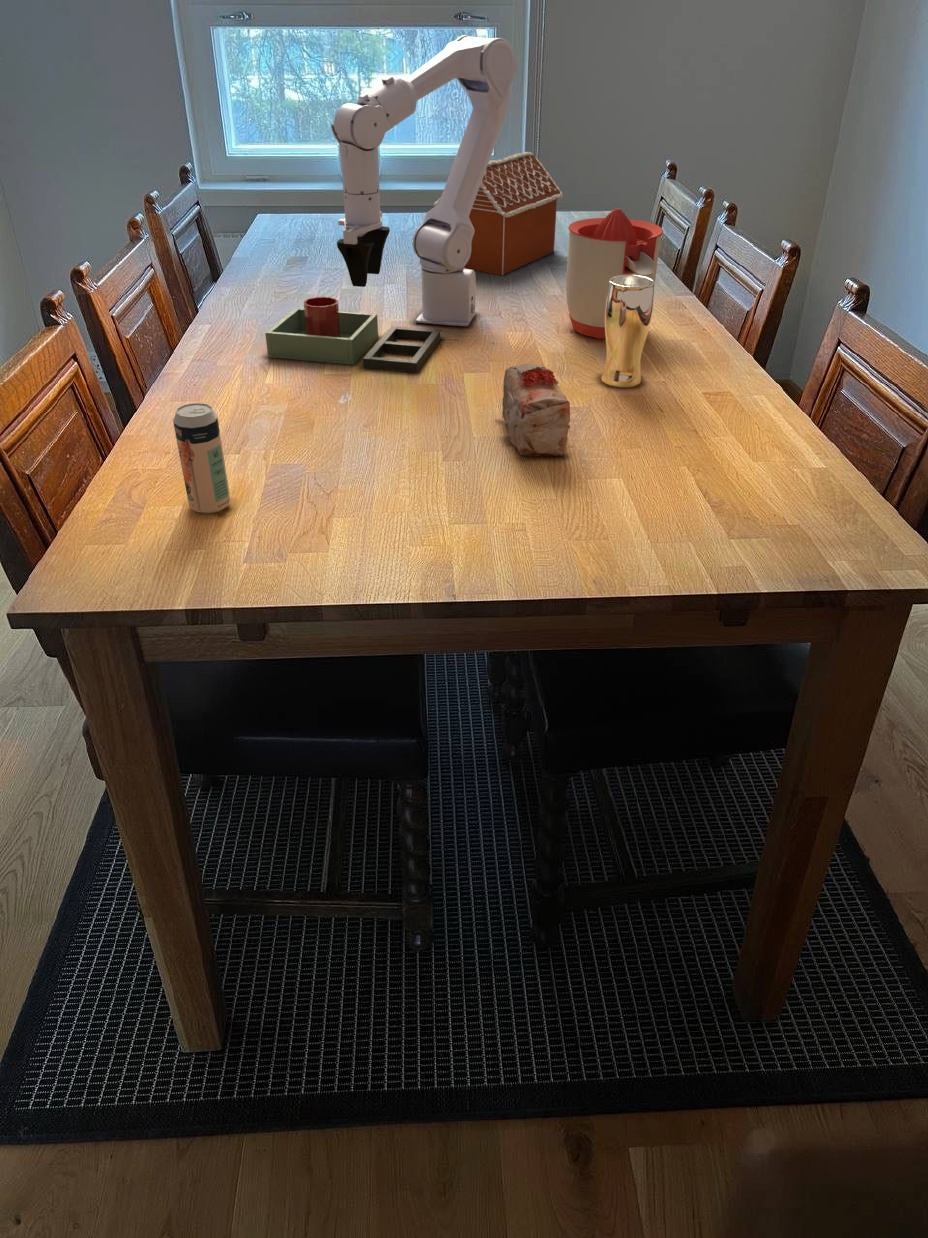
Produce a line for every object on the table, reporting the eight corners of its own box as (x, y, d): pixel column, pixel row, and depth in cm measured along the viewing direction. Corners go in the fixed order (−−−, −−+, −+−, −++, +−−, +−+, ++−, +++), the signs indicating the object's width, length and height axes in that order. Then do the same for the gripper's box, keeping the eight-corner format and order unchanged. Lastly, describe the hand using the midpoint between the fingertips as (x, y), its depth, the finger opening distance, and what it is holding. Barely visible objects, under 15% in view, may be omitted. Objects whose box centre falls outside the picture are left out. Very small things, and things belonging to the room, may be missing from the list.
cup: (345, 340, 154) (342, 297, 150) (334, 350, 150) (331, 307, 146) (314, 337, 155) (310, 295, 151) (302, 348, 151) (298, 305, 147)
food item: (574, 460, 118) (580, 387, 113) (514, 464, 117) (517, 391, 111) (547, 418, 129) (552, 349, 124) (492, 422, 128) (494, 352, 122)
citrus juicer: (599, 353, 151) (612, 224, 140) (544, 323, 164) (551, 202, 152) (674, 339, 157) (693, 215, 145) (616, 311, 170) (628, 194, 158)
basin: (378, 337, 157) (377, 313, 154) (353, 364, 146) (352, 339, 144) (298, 330, 159) (295, 307, 157) (268, 357, 148) (265, 332, 146)
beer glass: (647, 375, 143) (659, 276, 134) (639, 391, 138) (651, 289, 129) (603, 369, 145) (613, 272, 136) (593, 385, 140) (603, 284, 131)
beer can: (193, 497, 109) (175, 401, 102) (233, 495, 110) (218, 400, 103) (186, 516, 105) (167, 419, 98) (228, 515, 106) (212, 418, 99)
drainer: (441, 338, 157) (441, 329, 156) (416, 372, 143) (416, 363, 143) (391, 334, 158) (391, 325, 157) (362, 367, 145) (362, 358, 144)
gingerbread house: (562, 251, 205) (569, 152, 193) (504, 277, 187) (508, 170, 176) (492, 239, 213) (494, 144, 201) (430, 264, 195) (428, 161, 184)
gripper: (351, 180, 151) (356, 266, 159) (321, 198, 139) (329, 290, 147) (392, 183, 149) (395, 269, 157) (366, 201, 138) (371, 293, 146)
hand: (366, 279), depth 152 cm, fingers open, 7 cm apart
